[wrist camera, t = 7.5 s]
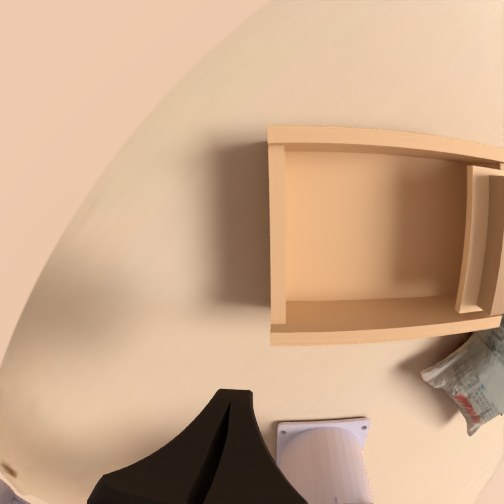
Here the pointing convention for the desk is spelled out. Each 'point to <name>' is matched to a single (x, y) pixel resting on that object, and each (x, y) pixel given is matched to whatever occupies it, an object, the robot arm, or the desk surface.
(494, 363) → the packaged food
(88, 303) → the desk surface
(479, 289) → the lid
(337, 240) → the light brown rectangular box
